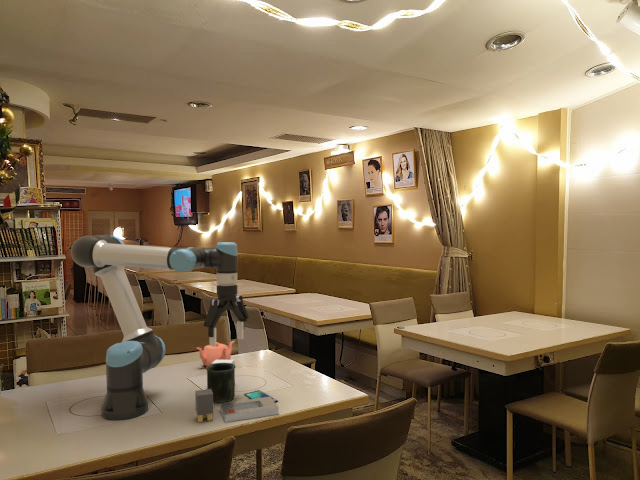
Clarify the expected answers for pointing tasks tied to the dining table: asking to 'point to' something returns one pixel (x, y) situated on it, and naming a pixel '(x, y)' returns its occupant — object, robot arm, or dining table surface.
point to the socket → (248, 409)
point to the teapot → (215, 353)
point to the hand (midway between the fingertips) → (226, 342)
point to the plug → (204, 404)
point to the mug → (221, 381)
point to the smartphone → (258, 395)
